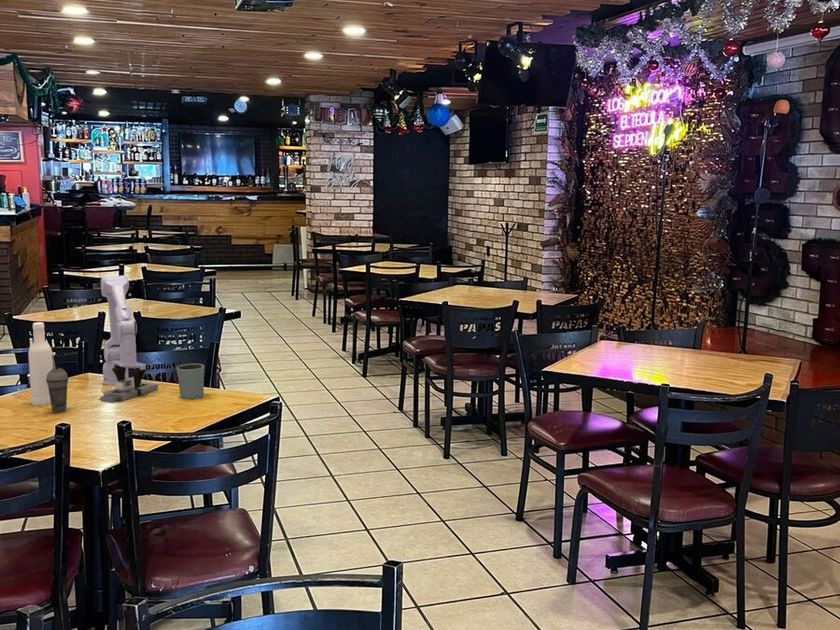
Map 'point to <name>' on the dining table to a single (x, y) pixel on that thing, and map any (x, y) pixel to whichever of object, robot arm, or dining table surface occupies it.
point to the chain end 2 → (146, 388)
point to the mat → (135, 397)
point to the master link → (125, 385)
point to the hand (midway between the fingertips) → (129, 386)
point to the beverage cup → (57, 388)
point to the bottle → (39, 366)
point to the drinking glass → (191, 381)
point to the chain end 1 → (117, 396)
